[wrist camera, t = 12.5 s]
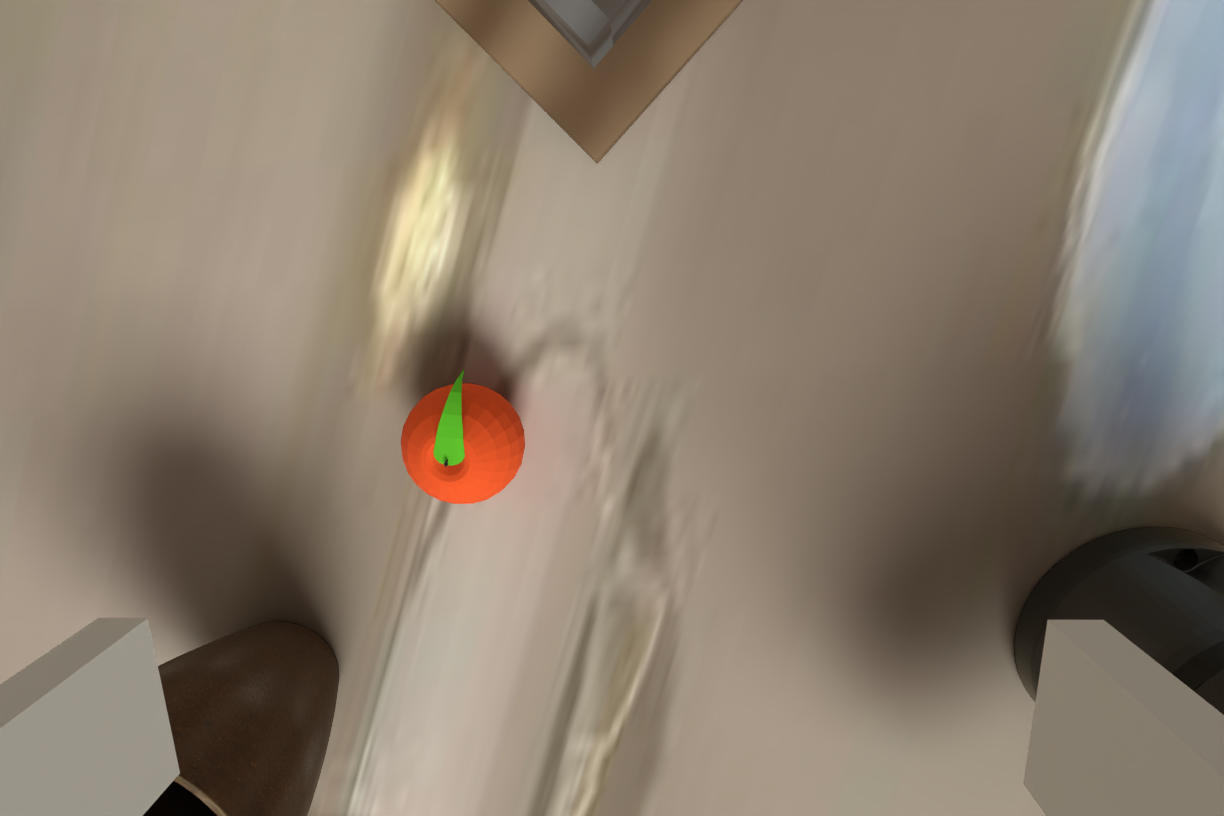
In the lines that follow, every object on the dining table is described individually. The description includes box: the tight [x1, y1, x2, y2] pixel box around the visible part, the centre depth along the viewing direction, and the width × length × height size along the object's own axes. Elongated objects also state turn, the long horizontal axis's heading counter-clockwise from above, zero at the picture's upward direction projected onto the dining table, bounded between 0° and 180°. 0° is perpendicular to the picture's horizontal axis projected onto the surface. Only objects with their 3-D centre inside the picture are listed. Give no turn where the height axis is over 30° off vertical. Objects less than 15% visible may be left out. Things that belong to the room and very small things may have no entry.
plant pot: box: [143, 622, 339, 816], centre depth 38 cm, size 15×15×16 cm
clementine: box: [401, 370, 525, 504], centre depth 37 cm, size 8×7×7 cm
